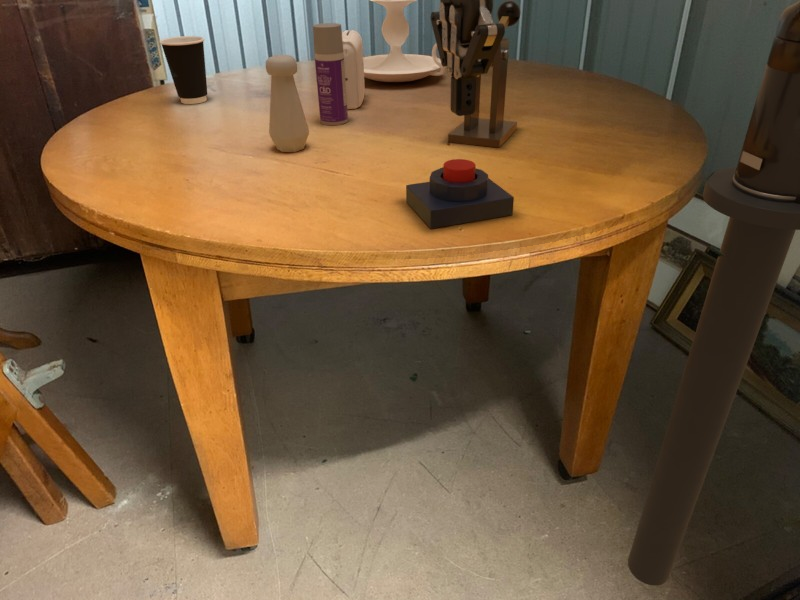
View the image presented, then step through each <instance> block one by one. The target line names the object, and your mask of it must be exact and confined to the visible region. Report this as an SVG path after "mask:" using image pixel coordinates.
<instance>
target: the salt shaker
mask: <svg viewBox="0 0 800 600" xmlns="http://www.w3.org/2000/svg"><path fill="white" fill-rule="evenodd" d="M265 71H266V73H267V75H269V76H271V78H270V99H269V100H270V102H269V103H270V104H269V124H268V125H269V128H268V134H269V137H270V139H271V141H272V143H273V145H274V146H275V147H276V149H277V150H278V151H280V152H281V153H297V152H299V151H302V150H304V149H305V146H306V143H307V140H308V138H309V135H310V129H309V125H308V121H307V119H306V116H305V112H304V109H303V105H302V102H301V98H300V95H299V90H298V87H297V85H296V81H295V77H294V76H295V74H297V73H298V63H297V60H296V58H294V56H292V55H288V54H277V55H272V56H269V57H268V58H267V59H266V60H265Z"/></svg>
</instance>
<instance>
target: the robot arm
mask: <svg viewBox="0 0 800 600" xmlns="http://www.w3.org/2000/svg"><path fill="white" fill-rule="evenodd" d="M439 1H440V3H439V10H438V11H431V13H430V22H431V27H432V31H433V35H434V39H435V44H436V43H437V51H438V56H439V59H440V60H441V64H442V66H443V67H444V66H446V69H447V70H446V71H447V74H448V76H449V77H450V112H451V113H453V114H455V115H456V116H458V117H462V116H463V117H464V115H471V114H473V113H474V111H475V96H476V77H479V76H480V75H481V76H482V75H487V74H488V73H489V71H490V68H491V67H490V66H491V63H492V61H493V59H494V57H495V54H496V52H497V50H498V48H499V45H500V43H501V41H502V39H503V38H504V37H505V33H506V29H505V27H504V24H503V23H499V22H498V23H495V21H494V19H493V17H492V13H493V8H494V0H439ZM772 40H773V41H772V44H771V48H770V51H769V55H768V58H767V61H766V65H765V68H764V72H763V75H762V79H761V81H760V85H759V89H758V92H757V95H756V99H755V102H754V106H753V109H752V113H751V116H750V120H749V123H748V126H747V130H746V134H745V136H744V139H743V140H744V141H743V143H742V147H741V150H740V154H739V157H738V162H737V164H736V166H735V167H736V172H735V174H734V175H733V179H732V185H733V186H734V187H735V188H736V189H738V190H739V191H741V192H743V193H745V194H748V195H751V196H754V197H757V198H761V199H765V200H771V201H778V202H791V203H797V204H800V0H798V1H797V2H795V3H793V4H791V5H789V6H787V7H786V8H785V9H784V10H783V12H782V13H781V15H780V18H779V20H778V24H777V27H776V31H775V35H774V37H773V39H772Z"/></svg>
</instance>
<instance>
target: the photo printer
mask: <svg viewBox="0 0 800 600" xmlns="http://www.w3.org/2000/svg"><path fill="white" fill-rule="evenodd" d="M342 41H343V52H344V65H345V80H346V96H347V110H355V109H357V108H360V107H361V106H362V104H363V101H364V99H365V94H366V87H365V86H366V83H365V77H364V62H363V57H364V46H363V45H364V43H363V39H362V36H361V35H360V33H359V32H357V31H356V30H353V29H351V30H348V29H346V30H344V31H342Z"/></svg>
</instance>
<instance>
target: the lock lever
mask: <svg viewBox="0 0 800 600" xmlns="http://www.w3.org/2000/svg"><path fill="white" fill-rule="evenodd" d="M520 17H521V8H520V6H519V5H518V3H517V2H516V1H513V0H505V1H504V2H502V3H501V4H500V5H499V7H498V8H497V12H496V18H497V21H498V23H503V24H504V27H505V30H507V27H512V26H514V25H515V24H517V23H518V22H519V21H520ZM490 68H493V61H492V63H491V66H490Z"/></svg>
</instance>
